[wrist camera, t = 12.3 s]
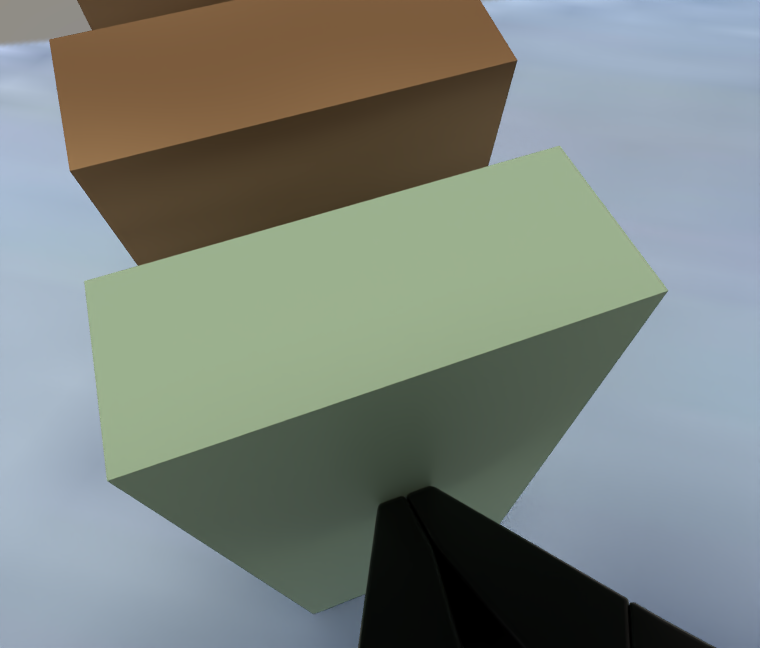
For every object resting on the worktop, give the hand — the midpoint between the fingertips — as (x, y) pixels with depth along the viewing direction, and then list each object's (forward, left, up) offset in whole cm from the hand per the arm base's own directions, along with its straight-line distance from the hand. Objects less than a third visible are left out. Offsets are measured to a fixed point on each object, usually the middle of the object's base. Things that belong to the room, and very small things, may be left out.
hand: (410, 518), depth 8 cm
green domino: (0, 0, -9) cm, 9 cm away
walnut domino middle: (+3, +4, -9) cm, 10 cm away
